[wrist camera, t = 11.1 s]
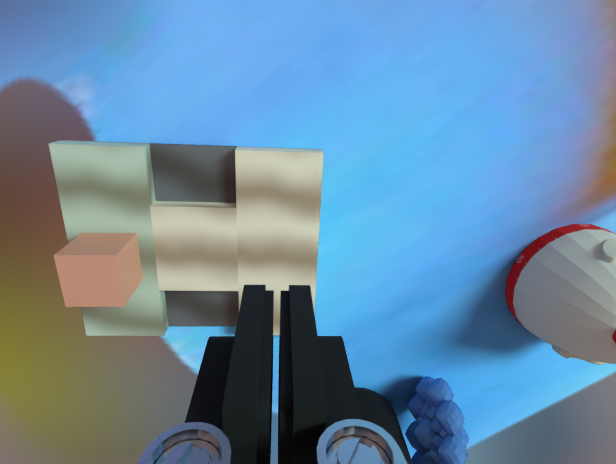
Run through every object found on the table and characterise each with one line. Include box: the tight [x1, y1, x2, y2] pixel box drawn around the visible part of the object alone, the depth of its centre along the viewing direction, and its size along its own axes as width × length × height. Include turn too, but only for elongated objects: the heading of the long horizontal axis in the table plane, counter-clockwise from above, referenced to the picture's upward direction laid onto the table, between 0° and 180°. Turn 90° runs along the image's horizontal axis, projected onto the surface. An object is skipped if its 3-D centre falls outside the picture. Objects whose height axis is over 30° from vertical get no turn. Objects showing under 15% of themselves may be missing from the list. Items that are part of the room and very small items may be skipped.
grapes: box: [405, 377, 469, 464], centre depth 44 cm, size 12×7×12 cm, turn 169°
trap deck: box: [49, 140, 324, 336], centre depth 39 cm, size 20×24×2 cm
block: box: [54, 233, 143, 307], centre depth 36 cm, size 5×5×5 cm
